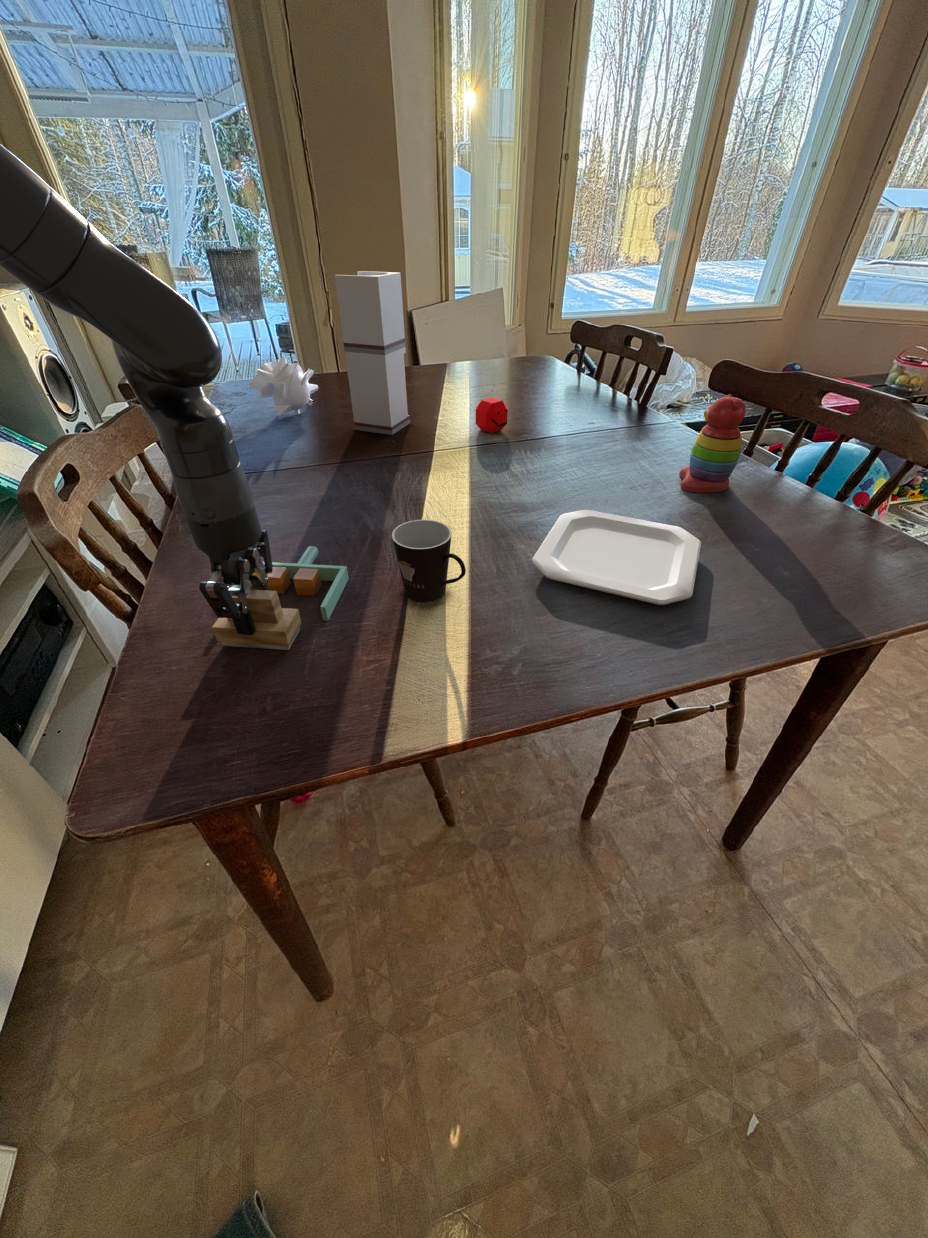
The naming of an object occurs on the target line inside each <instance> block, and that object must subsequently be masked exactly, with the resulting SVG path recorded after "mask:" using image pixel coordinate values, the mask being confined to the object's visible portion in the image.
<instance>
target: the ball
mask: <svg viewBox="0 0 928 1238" xmlns="http://www.w3.org/2000/svg"><path fill="white" fill-rule="evenodd" d="M508 409H509V408H508V406H507V404H506V403H505V402H504V400H502V399H499V398H495V397H489V398H485V399H481V400H480V401H479V402H478V403H477V405H476V406H475V425H476V426H477V427H478V428H479V429H480V430H481V431H483V432H487V433H489V434H493V433H496V432H500V431H502V430H503V429H504V428H505V427H506V426H507V425H508V411H509V410H508Z"/></svg>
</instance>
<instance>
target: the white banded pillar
mask: <svg viewBox="0 0 928 1238" xmlns="http://www.w3.org/2000/svg"><path fill="white" fill-rule="evenodd" d="M356 273H357V275H356V274H355V275H354V274H334V282H335V290H336V297H337V304H338V305H337V306H338V311H339V318H340V319H339V320H340V327H341V334H342V335H341V336H342V342H343V347H344V349H343V350H344V357H345V363H346V372H347V378H348V386H349V394H350V401H351V409H352V417H353V424H354V430H355V431H362V432H369V433H376V434H383V435H390V436H393V435H394V434H396V433H397V432H399V431H400V430H402V429H404V428H405V427H407V426H408V425H410V424H411V415H409V408H408V396H407V381H406V380H407V379H406V368H405V354H406V353H407V350H406V336H405V335H406V334H405V322H404V305H403V289H402V277H401V274H402V273H401V272H398V271H397V272H396V271H372V270H371V271H370V270H369V271H368V270H367V271H365V270H358V271H356Z"/></svg>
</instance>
